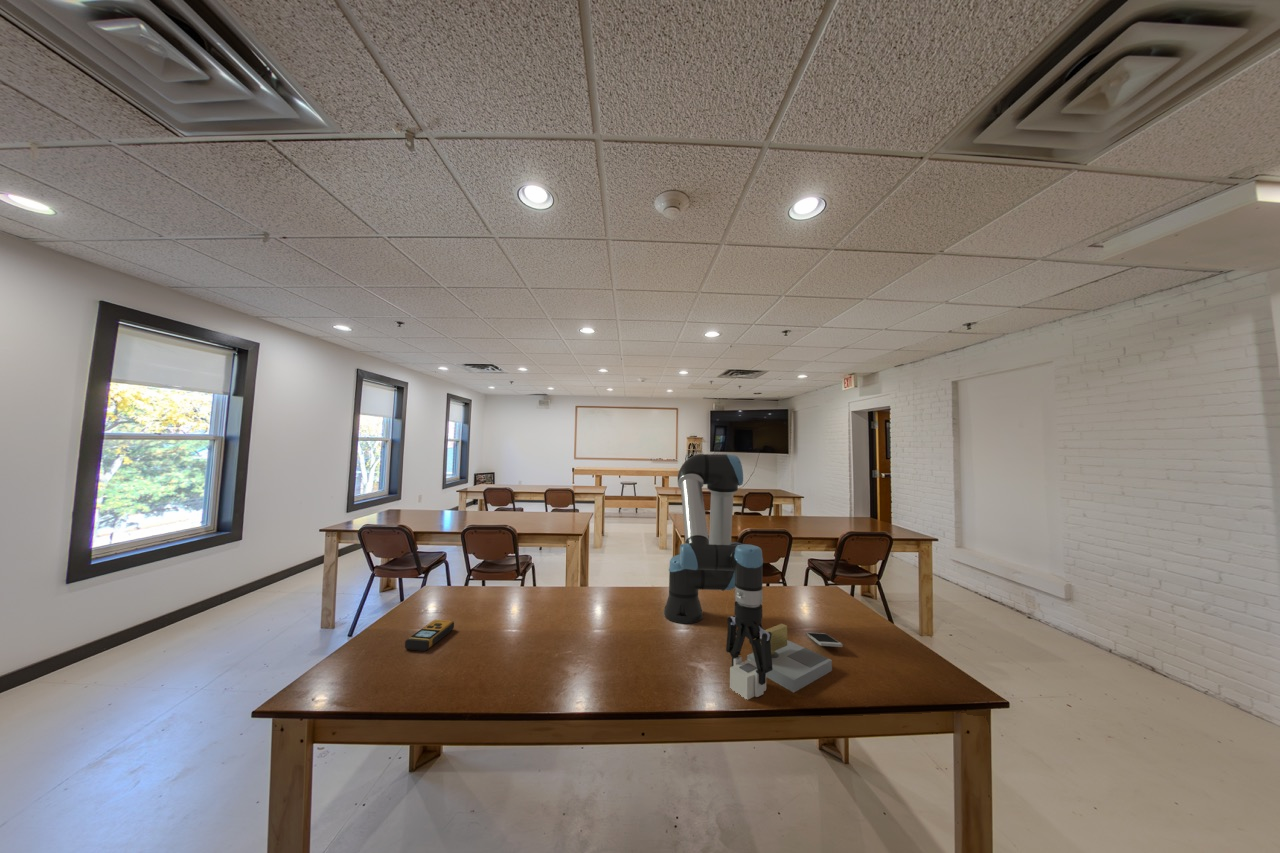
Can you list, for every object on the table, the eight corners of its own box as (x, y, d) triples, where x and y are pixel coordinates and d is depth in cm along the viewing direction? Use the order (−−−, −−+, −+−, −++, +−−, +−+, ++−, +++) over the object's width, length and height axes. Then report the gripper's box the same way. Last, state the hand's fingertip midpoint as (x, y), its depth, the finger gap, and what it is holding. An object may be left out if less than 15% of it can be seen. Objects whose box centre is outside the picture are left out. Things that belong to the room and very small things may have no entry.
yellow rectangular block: (761, 661, 117) (761, 636, 118) (755, 658, 119) (755, 633, 119) (787, 649, 125) (787, 625, 125) (781, 646, 126) (781, 623, 127)
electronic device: (455, 629, 141) (456, 619, 141) (428, 651, 126) (428, 640, 126) (433, 627, 142) (433, 617, 142) (403, 649, 126) (404, 638, 127)
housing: (747, 667, 121) (747, 654, 121) (785, 649, 132) (785, 638, 133) (793, 693, 108) (793, 679, 108) (832, 672, 119) (831, 659, 120)
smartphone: (820, 645, 129) (820, 642, 130) (805, 634, 144) (805, 631, 144) (843, 647, 129) (842, 644, 129) (825, 635, 144) (825, 632, 144)
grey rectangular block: (729, 689, 109) (729, 666, 110) (748, 680, 114) (748, 658, 114) (747, 701, 104) (747, 676, 105) (766, 691, 109) (766, 667, 109)
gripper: (713, 594, 117) (712, 675, 115) (769, 617, 101) (769, 712, 99) (730, 589, 121) (730, 667, 119) (787, 611, 105) (787, 702, 103)
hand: (748, 687), depth 109 cm, fingers open, 7 cm apart
